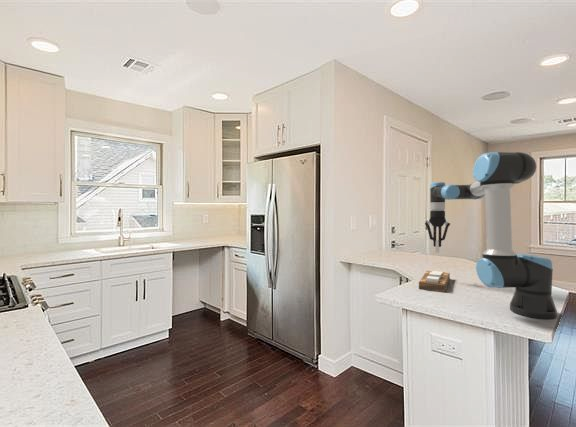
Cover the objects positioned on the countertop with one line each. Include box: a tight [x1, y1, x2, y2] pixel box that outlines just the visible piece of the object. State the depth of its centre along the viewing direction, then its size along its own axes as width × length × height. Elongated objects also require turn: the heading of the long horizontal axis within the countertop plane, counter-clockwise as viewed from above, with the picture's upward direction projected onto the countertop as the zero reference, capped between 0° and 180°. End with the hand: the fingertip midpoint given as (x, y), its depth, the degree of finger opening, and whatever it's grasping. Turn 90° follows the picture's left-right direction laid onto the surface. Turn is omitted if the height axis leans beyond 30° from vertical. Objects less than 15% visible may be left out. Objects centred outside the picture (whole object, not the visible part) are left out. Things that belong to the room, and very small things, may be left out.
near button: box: [427, 276, 439, 283], centre depth 166 cm, size 5×5×3 cm
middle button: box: [429, 272, 441, 279], centre depth 174 cm, size 5×5×3 cm
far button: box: [431, 270, 444, 275], centre depth 183 cm, size 5×5×3 cm
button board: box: [418, 270, 451, 293], centre depth 174 cm, size 30×12×4 cm, turn 149°
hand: (437, 252), depth 180 cm, fingers closed
